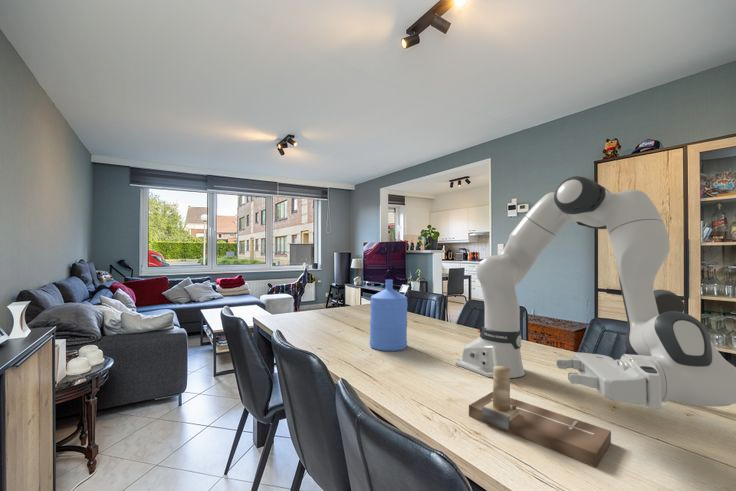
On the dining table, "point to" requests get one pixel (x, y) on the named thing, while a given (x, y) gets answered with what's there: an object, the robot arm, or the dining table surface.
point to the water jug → (388, 319)
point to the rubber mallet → (668, 301)
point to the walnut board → (553, 430)
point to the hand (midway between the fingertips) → (562, 370)
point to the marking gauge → (500, 400)
